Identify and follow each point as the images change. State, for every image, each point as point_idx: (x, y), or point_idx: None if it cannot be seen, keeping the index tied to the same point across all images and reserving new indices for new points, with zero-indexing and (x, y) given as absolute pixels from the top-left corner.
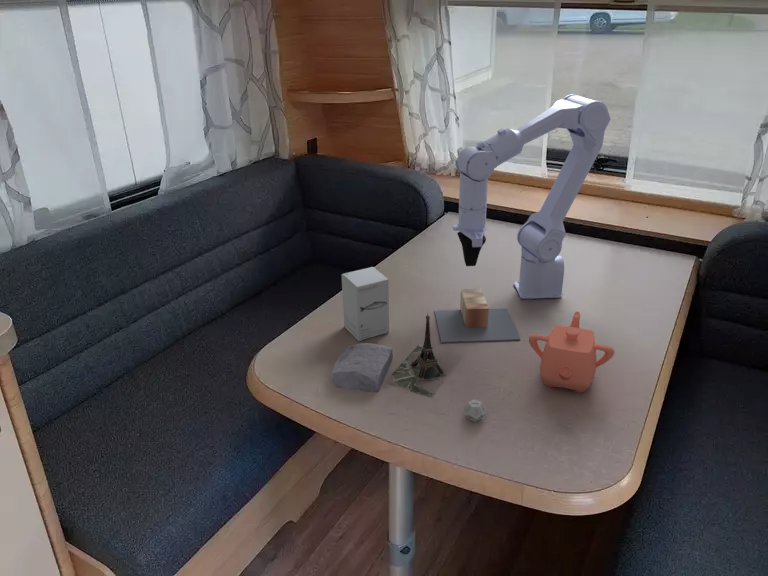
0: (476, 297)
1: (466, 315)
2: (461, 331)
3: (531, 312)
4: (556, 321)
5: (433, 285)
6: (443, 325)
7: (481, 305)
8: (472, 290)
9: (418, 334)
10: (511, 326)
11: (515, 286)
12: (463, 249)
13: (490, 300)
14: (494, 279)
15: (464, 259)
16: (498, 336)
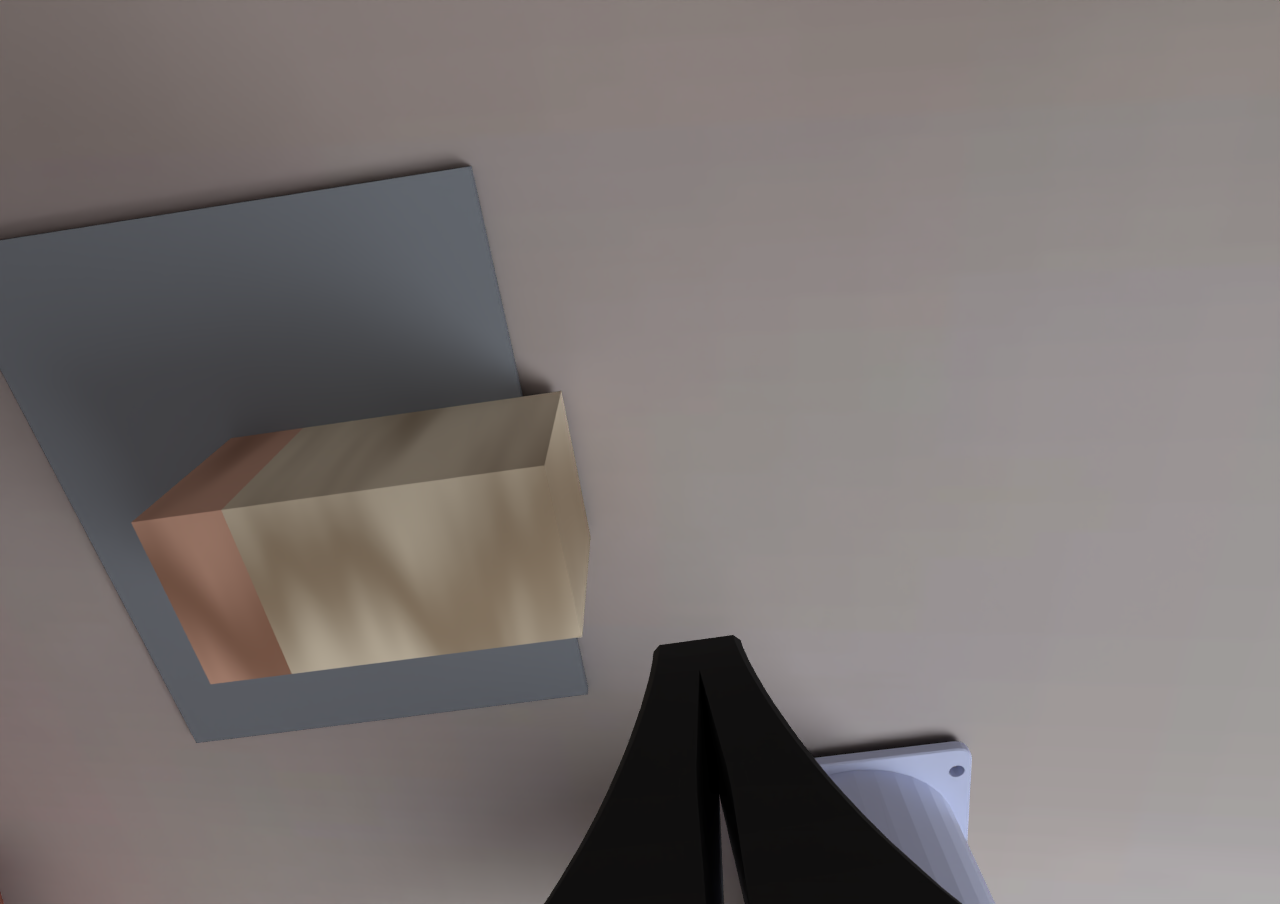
0: (392, 599)
1: (172, 488)
2: (166, 405)
3: (566, 801)
4: (477, 894)
5: (1026, 124)
6: (214, 260)
7: (246, 635)
8: (534, 566)
9: (8, 23)
10: (339, 707)
11: (908, 750)
12: (615, 849)
13: (717, 596)
14: (1062, 627)
15: (701, 681)
16: (184, 636)
